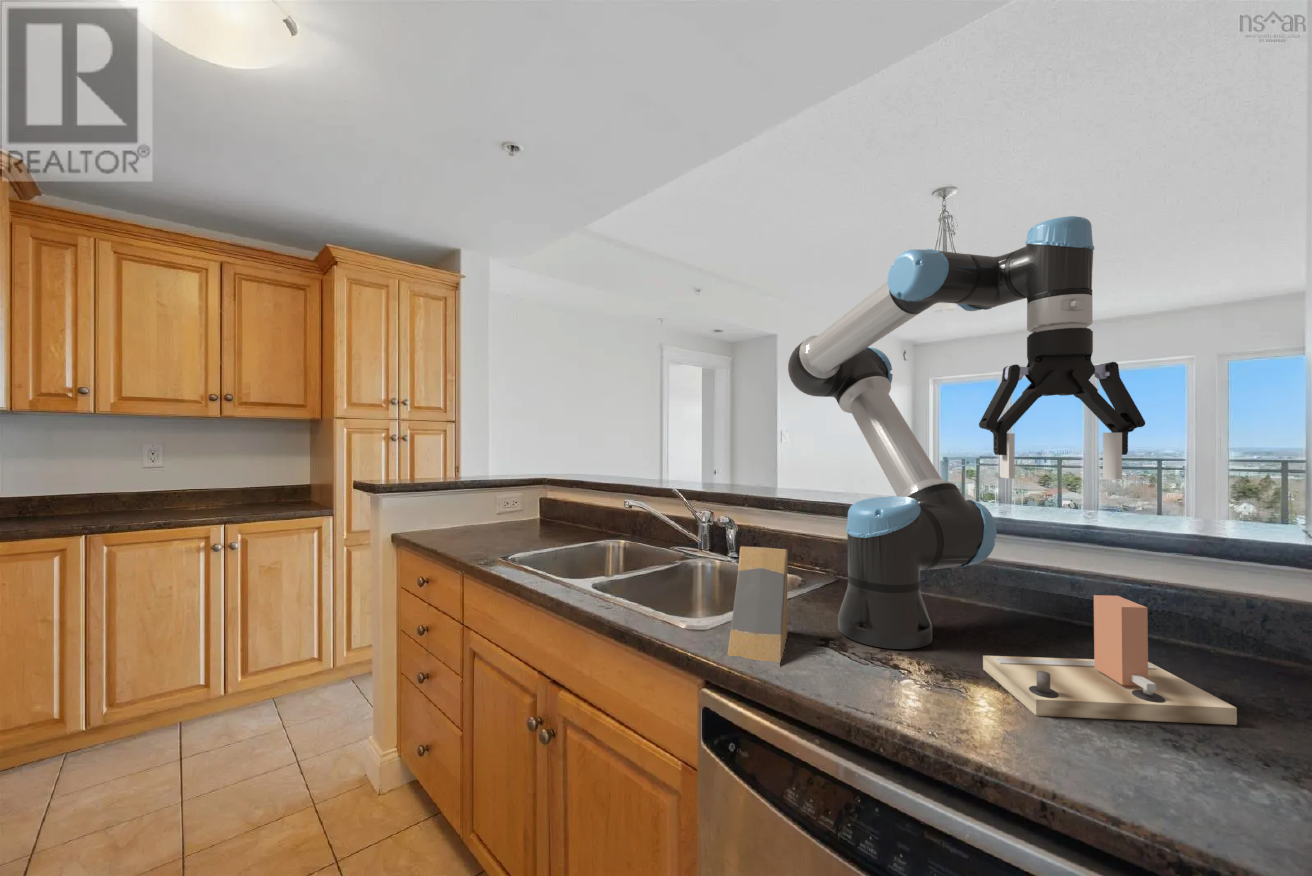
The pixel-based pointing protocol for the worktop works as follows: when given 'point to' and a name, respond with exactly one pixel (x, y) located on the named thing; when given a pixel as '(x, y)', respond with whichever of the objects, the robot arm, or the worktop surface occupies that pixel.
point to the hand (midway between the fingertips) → (1058, 478)
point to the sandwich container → (760, 605)
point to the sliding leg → (1122, 641)
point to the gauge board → (1103, 692)
